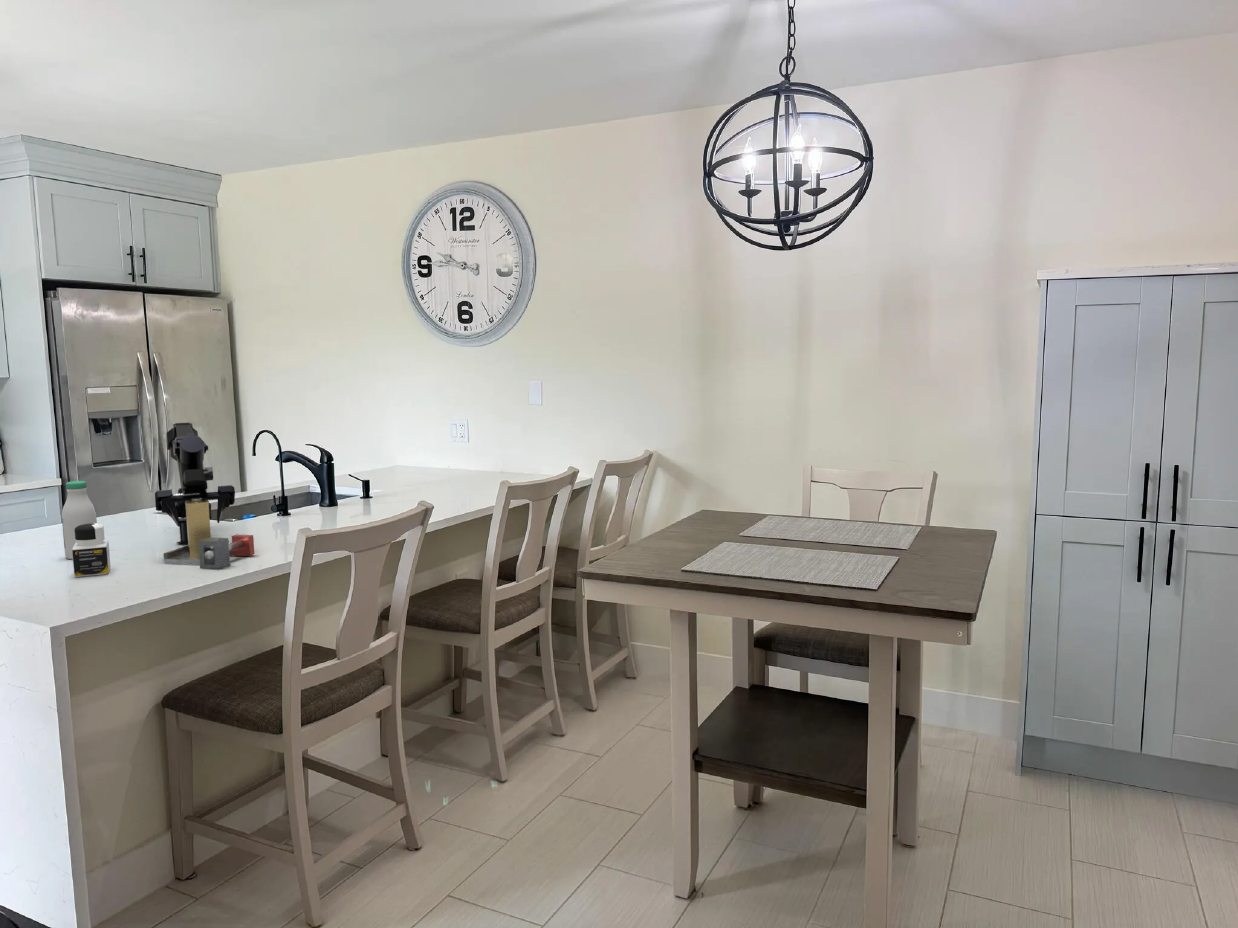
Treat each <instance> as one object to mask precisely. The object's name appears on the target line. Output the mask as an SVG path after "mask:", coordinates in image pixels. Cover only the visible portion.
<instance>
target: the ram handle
mask: <svg viewBox="0 0 1238 928" xmlns="http://www.w3.org/2000/svg"><path fill="white" fill-rule="evenodd" d="M254 540H255V539H254V534H234V535H231V543H230V542H229V552H231V551H233V555H234V556H238V557H239V556H240V557H242V556H243V557H250V556H254V555H255V541H254ZM204 556H205V558H206V559H211V558H214V557H215V554H214V549H213V550H210V551H207V552H205V554H204Z"/></svg>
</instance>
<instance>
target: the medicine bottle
mask: <svg viewBox="0 0 1238 928" xmlns="http://www.w3.org/2000/svg"><path fill="white" fill-rule="evenodd" d="M104 529H105V528H104V525H103V524H101V523H98V522H97V523H90V524H83V525H79V526H77V527H76V528H75V529H74V530H75V541H76V543H75V545H74V547H73V549H72V555H73V559H72V565H73V566H72V567H73V576H74V578H85V577H92V576H103V575H108V574H109V573H110V571H111V570H110V569H111V556H110V543H109V540H107V539H105V530H104Z"/></svg>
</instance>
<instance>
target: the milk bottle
mask: <svg viewBox="0 0 1238 928" xmlns="http://www.w3.org/2000/svg"><path fill="white" fill-rule="evenodd" d="M87 486H88V483H87V480H86V481H85V480H73V481H68V482H66V483H65V488H66V492H67V497H66V500H65V503H64V505H63V508H62V512H61V521H62V522H61V523H62V535H63V545H64V555H65V558H66V559H68V560H73V555H72V549H73V547H74V545H75V543H76V541H75V530H74V529H75V528H76V527H77V526H79V525H83V524H90V523H98V520H97V513H96V509H95V506H94V505H93V502H92V501H91V500H90V497H89V496H88V493H87V490H88V488H87Z"/></svg>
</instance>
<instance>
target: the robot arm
mask: <svg viewBox="0 0 1238 928" xmlns="http://www.w3.org/2000/svg"><path fill="white" fill-rule="evenodd" d="M165 437H166V438H165V440H166V441H165V442H166V443H165V444H166V450H167V451H169V454H170V455H169V456H170V458H172V459H173V460H174V461H176V463H177V469H178V476H179V483H180V484H179V485H180V488H178V490H177V493H175V494H173V490H172V489H161V490H159V489H158V490H156V491H155V492H154V502H155V511H157V512H161V513H164V514H167V515H168V516H169V517H170V518H171V519H172V521H173V522H174V523H175V524H176V527H178V528H179V537H180V538H179V539H180V541H176V544H177V545H188V533H187V519H186V505H185V501H190V500H191V499H192V498H202V499H207V501H208V503H209V518H210V521H211V520H212V504H211V503H210V501H217V504H216V505H217V507H216V508H217V509H216V511H217V512H216V522H217V524H219V523H220V521H221V519H222V515H223V513H224V511H225V509H226V508H229V507H230V506H233V505H234V504H235V501H236V500H235V498H236V497H235V496H236V490H235V489H236V488H235V487H234V486H233V485H231V484H230V485H218V486H217V491H210V492H208V491H207V490H208V481H213V480H214V471H213V467H212V466H207V467H204V459H205V455H206V454H207V451H209V445H207V444H206V443H205V441H204V440H203V439H202V438H201V437H200V436H199V432H198V430H196V429H195V428H194V427H193V422H192V423H191V422H175V423H173V424H172V428H171V429H169V430H168V431H167V432H166V434H165Z"/></svg>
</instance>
